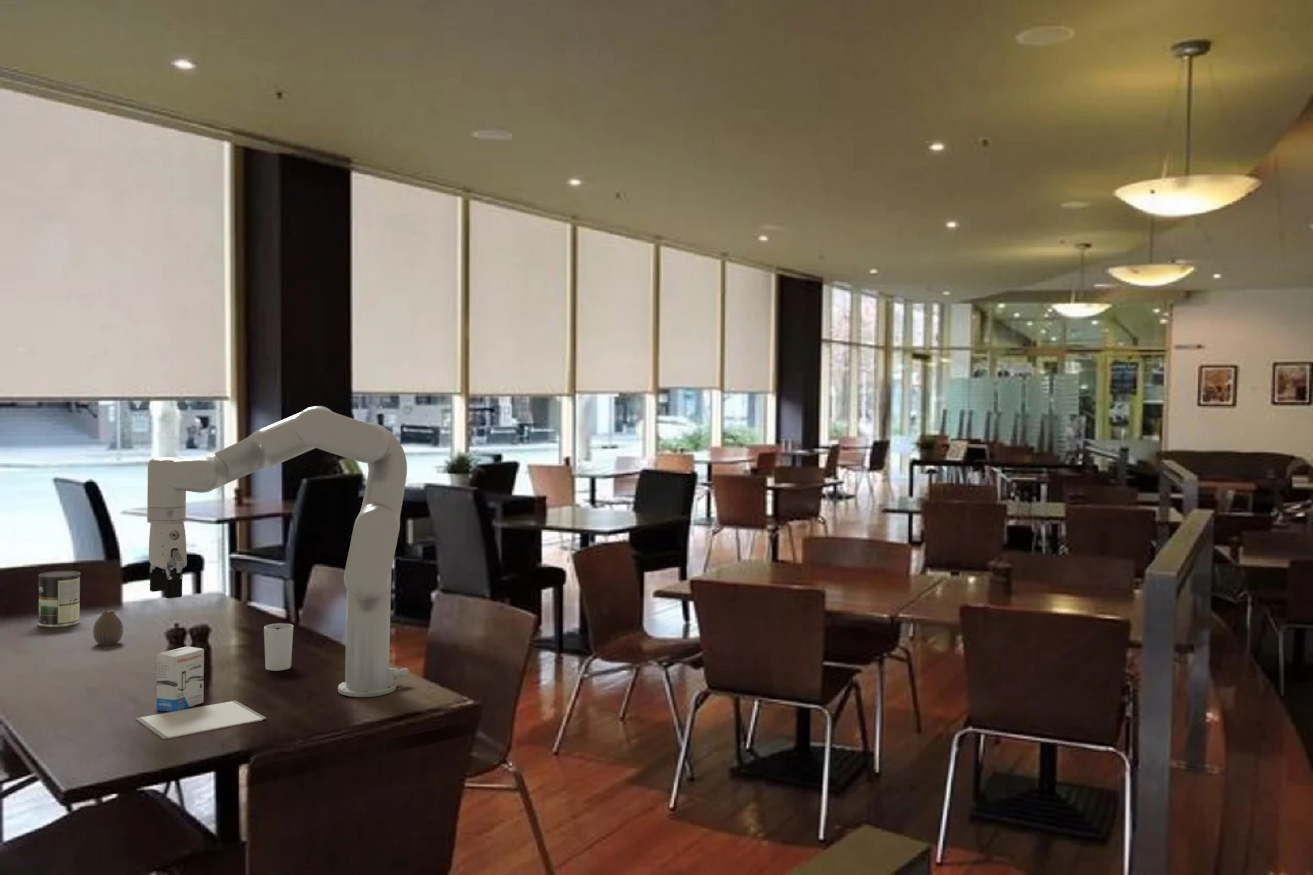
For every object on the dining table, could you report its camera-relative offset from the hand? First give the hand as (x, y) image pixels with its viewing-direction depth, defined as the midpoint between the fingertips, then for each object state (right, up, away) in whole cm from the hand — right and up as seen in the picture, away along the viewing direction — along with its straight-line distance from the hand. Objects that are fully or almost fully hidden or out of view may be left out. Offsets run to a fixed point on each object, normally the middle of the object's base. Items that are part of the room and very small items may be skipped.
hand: (165, 594), depth 227 cm
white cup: (+14, -22, +28) cm, 38 cm away
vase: (-37, -20, +47) cm, 63 cm away
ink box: (+6, -23, -5) cm, 24 cm away
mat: (+14, -23, -14) cm, 30 cm away
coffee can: (-62, -19, +69) cm, 95 cm away
